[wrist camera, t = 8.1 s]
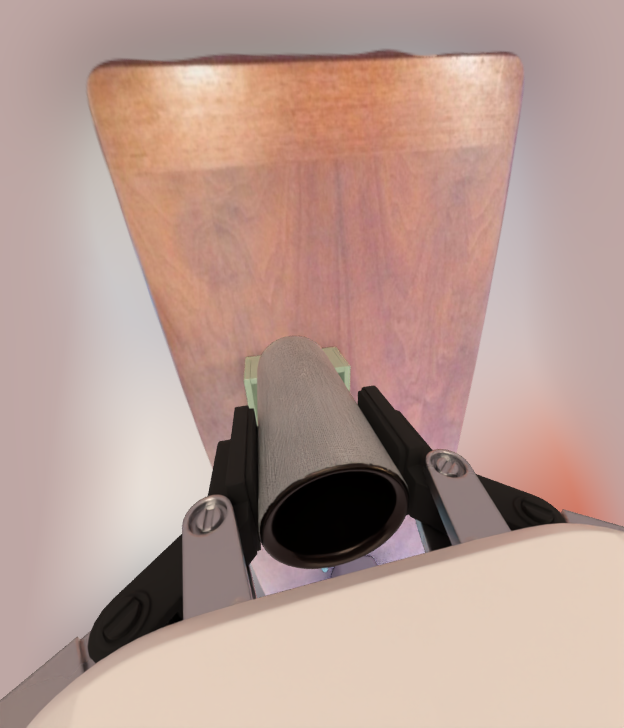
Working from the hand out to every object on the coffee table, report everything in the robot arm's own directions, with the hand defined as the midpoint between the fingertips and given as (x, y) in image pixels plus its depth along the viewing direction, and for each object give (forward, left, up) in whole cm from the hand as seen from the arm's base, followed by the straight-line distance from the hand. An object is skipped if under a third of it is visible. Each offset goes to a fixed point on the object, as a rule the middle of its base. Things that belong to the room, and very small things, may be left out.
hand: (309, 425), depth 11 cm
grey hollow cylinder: (0, 0, -6) cm, 6 cm away
